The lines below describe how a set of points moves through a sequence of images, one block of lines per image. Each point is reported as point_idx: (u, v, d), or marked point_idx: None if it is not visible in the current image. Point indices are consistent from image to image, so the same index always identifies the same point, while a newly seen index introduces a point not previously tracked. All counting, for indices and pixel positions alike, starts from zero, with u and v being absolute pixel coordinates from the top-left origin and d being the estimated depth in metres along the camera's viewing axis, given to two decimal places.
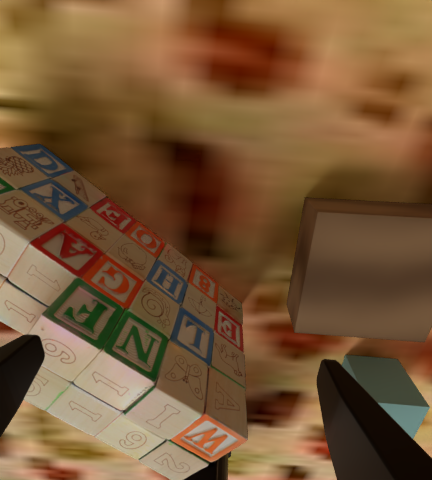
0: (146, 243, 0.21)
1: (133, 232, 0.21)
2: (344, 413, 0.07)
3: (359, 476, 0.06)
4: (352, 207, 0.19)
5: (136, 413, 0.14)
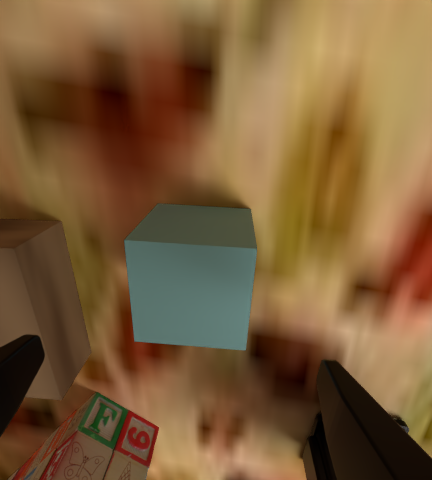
0: (24, 473, 0.23)
1: (21, 476, 0.24)
2: (344, 413, 0.07)
3: (359, 476, 0.06)
4: None
5: None
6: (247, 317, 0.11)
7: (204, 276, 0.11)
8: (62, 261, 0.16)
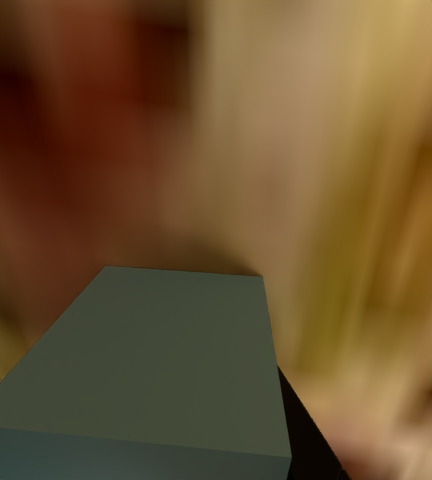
0: None
1: None
2: None
3: None
4: None
5: None
6: None
7: None
8: None
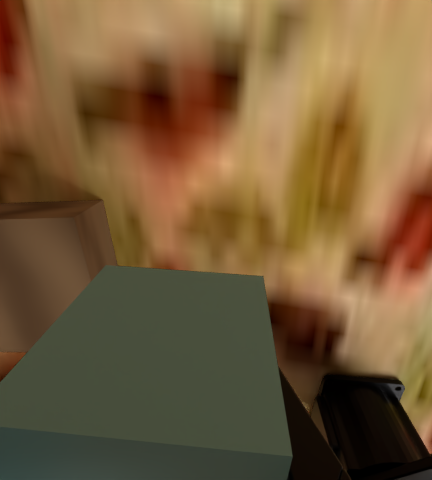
0: None
1: None
2: None
3: None
4: None
5: None
6: None
7: None
8: (105, 234, 0.19)
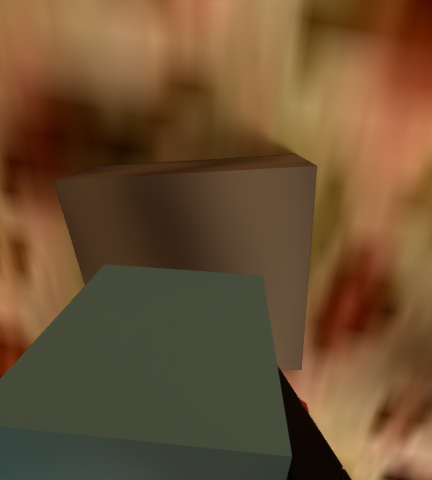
0: None
1: None
2: None
3: None
4: None
5: None
6: None
7: None
8: None
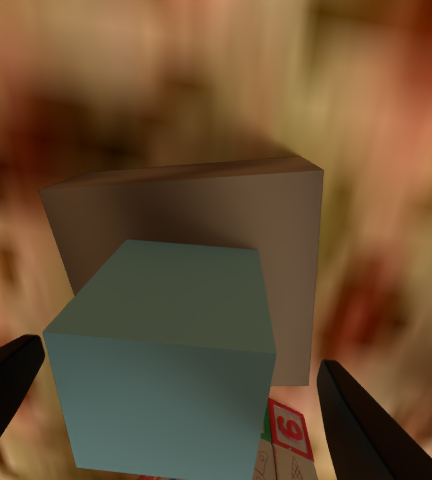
0: None
1: None
2: (344, 413, 0.07)
3: (359, 476, 0.06)
4: None
5: None
6: (255, 447, 0.07)
7: (184, 389, 0.06)
8: None
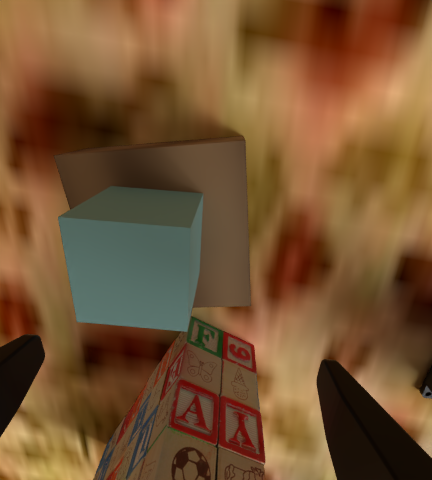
0: (137, 409, 0.25)
1: (133, 414, 0.26)
2: (344, 413, 0.07)
3: (359, 476, 0.06)
4: None
5: None
6: (186, 298, 0.12)
7: (141, 255, 0.11)
8: None
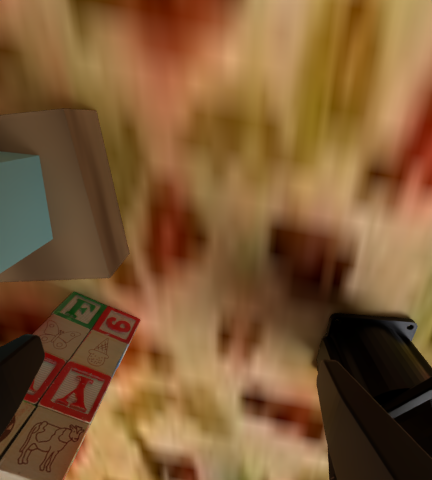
0: None
1: None
2: (344, 413, 0.07)
3: (359, 476, 0.06)
4: None
5: None
6: None
7: None
8: (100, 148, 0.18)
